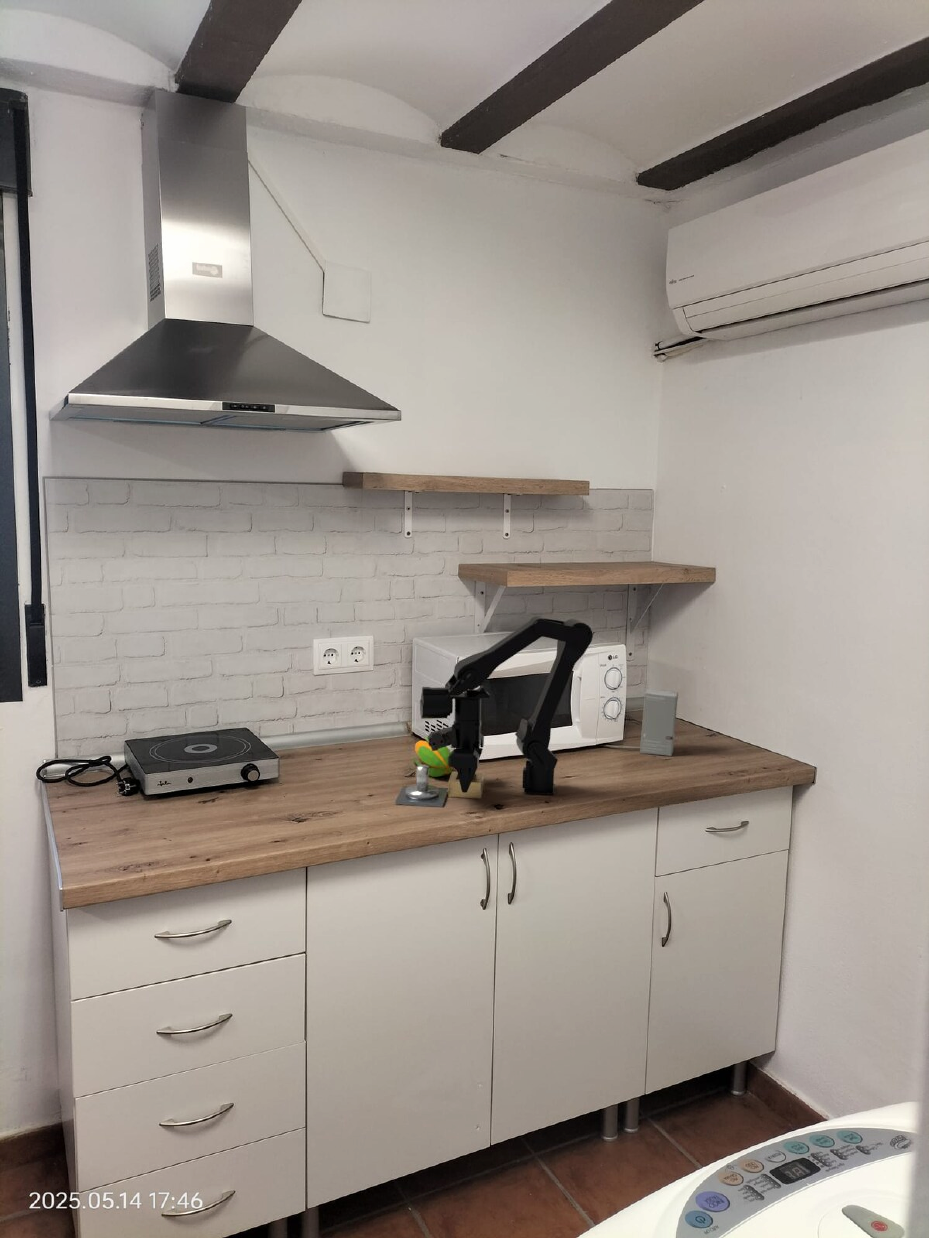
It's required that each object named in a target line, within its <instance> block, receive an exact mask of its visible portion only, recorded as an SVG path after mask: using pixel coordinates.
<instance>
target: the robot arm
mask: <svg viewBox="0 0 929 1238" xmlns="http://www.w3.org/2000/svg"><path fill="white" fill-rule="evenodd" d="M542 637H543V638H546V639H547V638H548V639H553V640H556V641H557V642H556V643H557V644H556V645H557V646H556V655H555V659H554V661H553V664H552V665H551V669H550V671H549V674H548V677H547V679H546V682H545V684H544V686H543V688H542V691H541V693H540V696H539V698H538V701H537V704H536V706H535V709H534V710H533V713H532V715H531V716H530V717H529V718H528V720H526V719H525V718H521V720H520V724H519V726H518V727H519V728H518V729H517V731H516V732H515V733H514V735H515V736H516V740H515V741H516V743H515V744H516V745H517V748H518V749H519V751H520V752H521V753H522V755H523V757H525V758H526V760H525V766H523V768H522V789H524V790H523V793H524V794H525V795H527V794H530V795H531V794H532V795H546V796H547V795H550V796H551V795H554V794H555V785H554V783H555V781H554V780H555V769H556V766H557V764H558V761H559V760H558V758H557V757H556V756H555V755H554V754H553V752H552V751H551V750H550V749H549V746H550V742H551V736H552V735H551V734H552V733H551V732H552V731H551V730H552V723H553V719H554V717H555V715H556V712H557V710H558V707H559V705H560V702H561V700H562V697H563V695H564V692H565V690H566V687H567V685H568V682H569V680H570V677H571V675H572V673H573V670H574V667H575V665H576V664H577V662H578V661H579V660H580V659H581V658H582V657H583V655H584V654H585V653H586V651H587V650H588V648H589V647H590V645H591V643H592V641H593V637H594V633H593V630H592V628H591V627H590V626H589V625H588V624H586V623H584V622H583V621H581V620H579V619H577V618H569V619H567V620H566V621H563V620H558V619H552V618H551V619H550V618H545V617H542V616H533V617H532V618H531V619H530V620H528V622H526V623H524V624H523V625H521V626H520V627H518V628H517V629H516V630H514V631H512V632H511V633H510V634H508V635H507V636H505V638H503V639H501V640H499V641H498V642H497V643H495V644H494V645H492V646H490V647H489V648H487V649H485V650H483V651H481V652H478V653H474V654H472V655H469V656H467V657H465V658H463V659H461V660H459V661H458V662H457V663H455V665H454V668H453V669H454V670H453V674H452V675H451V677H450V678H449V679H448V681H447V682H446V683H445V684H444V687H431V686H422V687H421V695H420V700H419V712H420V715H419V716H420V719H422V720H423V719H425V720H426V719H427V720H428V719H430V720H431V719H434V720H435V719H448V716H449V717H450V716H451V714H453V712H454V718H453V719H454V720H453V724H452V725H451V726H449V727H448V726H447V727H445V728H441V729H438V730H435V731H432V732H430V733H429V734H428V735H427V737H428V740H427V741H428V742H429V746H431V749H432V751H436V750H438V749H440V748H443V747H451V749H453V750H451V751H450V754H449V757H448V766H450V767H453V768H454V769H453V770H455V771H456V772H458V777H459V781H460V786H461V790H462V792H463V793H467V791H468V789H469V786H470V784H471V781H472V779H473V777H474V774H475V773H477V769H478V767H479V761H480V757H482V756H481V755H482V753H483V750H484V749H483V748H484V746H485V736H484V734H482V733H481V727H482V717H481V715H482V713H481V712H482V700H483V699H484V700H486V699H491V694H490V693H489V691H487V690H486V689H485V688H484V686H483V685H482V684H483V683H484V682H486V680H487V679H489V678H490V677H491V675H492V674H493V673H494V671H495V670H496V669H497V668H499V666H501V665H502V664H503V663H505V662H507V661H508V660H510V659H511V658H512V657H514V656H515V655H517V654H519V653H520V652H521V651H523V650H524V649H526V648H527V647H528V646H530V645H531V644H533V643H535V642H537V641H538V640H539V639H541V638H542ZM453 700H454V701H453ZM453 704H454V705H453ZM453 706H454V707H453ZM453 708H454V709H453ZM453 710H454V711H453Z"/></svg>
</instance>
